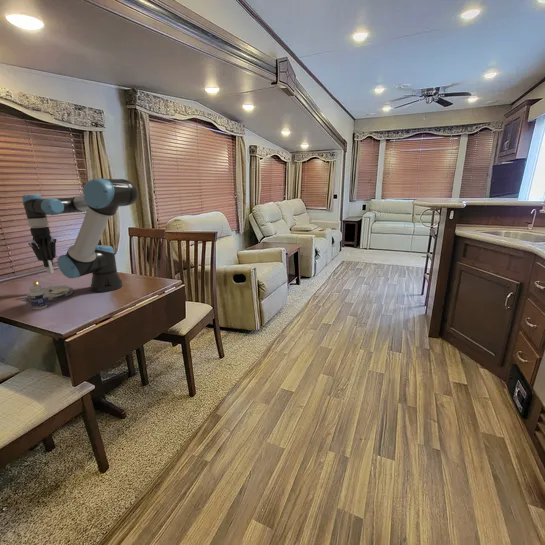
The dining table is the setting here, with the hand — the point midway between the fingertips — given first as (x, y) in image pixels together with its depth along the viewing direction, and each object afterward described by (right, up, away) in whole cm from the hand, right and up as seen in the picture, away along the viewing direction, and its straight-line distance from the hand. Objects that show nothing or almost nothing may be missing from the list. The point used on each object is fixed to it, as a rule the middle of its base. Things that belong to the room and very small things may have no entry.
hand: (50, 272), depth 151 cm
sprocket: (+3, -12, -4) cm, 13 cm away
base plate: (+3, -12, -4) cm, 13 cm away
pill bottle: (+9, -16, -18) cm, 26 cm away
